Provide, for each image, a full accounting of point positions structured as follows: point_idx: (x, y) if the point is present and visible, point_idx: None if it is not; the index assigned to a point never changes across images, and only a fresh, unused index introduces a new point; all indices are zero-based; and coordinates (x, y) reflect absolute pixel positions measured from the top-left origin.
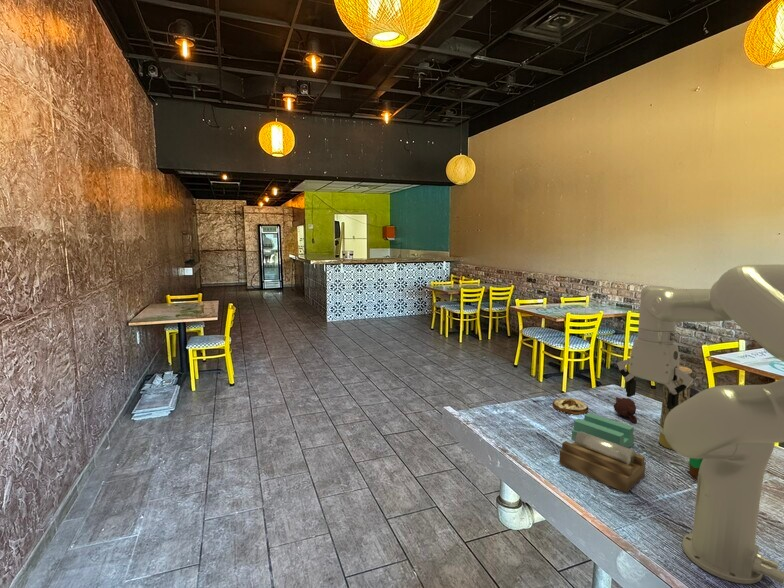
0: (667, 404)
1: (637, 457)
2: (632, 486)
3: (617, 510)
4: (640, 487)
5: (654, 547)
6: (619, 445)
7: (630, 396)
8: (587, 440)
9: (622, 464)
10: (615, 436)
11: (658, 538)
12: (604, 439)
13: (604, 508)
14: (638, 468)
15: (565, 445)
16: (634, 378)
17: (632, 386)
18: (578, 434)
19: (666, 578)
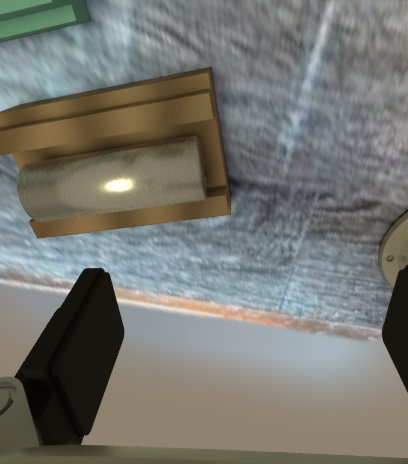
0: (394, 361)
1: (198, 120)
2: (225, 161)
3: (254, 264)
4: (236, 141)
5: (344, 300)
6: (155, 183)
7: (121, 322)
8: (75, 217)
9: (201, 206)
10: (37, 6)
11: (341, 276)
12: (13, 17)
13: (236, 277)
14: (218, 138)
15: (48, 235)
16: (28, 404)
17: (91, 376)
18: (36, 217)
19: (378, 339)
